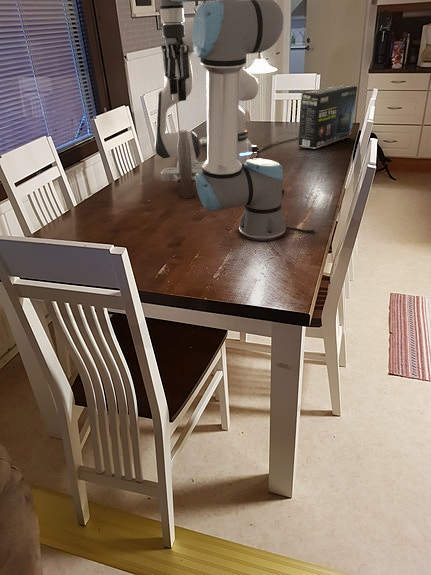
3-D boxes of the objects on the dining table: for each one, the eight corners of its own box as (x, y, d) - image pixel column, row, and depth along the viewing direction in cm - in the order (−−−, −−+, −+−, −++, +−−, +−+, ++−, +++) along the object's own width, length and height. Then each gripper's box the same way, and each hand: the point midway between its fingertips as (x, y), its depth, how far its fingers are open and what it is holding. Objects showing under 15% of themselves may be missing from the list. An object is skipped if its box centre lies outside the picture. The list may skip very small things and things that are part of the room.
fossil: (223, 141, 238) (204, 123, 241) (212, 159, 245) (194, 141, 248) (240, 140, 252) (222, 123, 255) (230, 156, 258) (212, 139, 262)
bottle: (194, 194, 183) (190, 129, 171) (191, 198, 179) (187, 132, 166) (182, 193, 184) (177, 129, 171) (179, 198, 180) (174, 132, 167)
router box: (314, 151, 231) (318, 94, 217) (296, 148, 237) (299, 92, 224) (352, 138, 251) (358, 85, 238) (335, 135, 258) (340, 83, 245)
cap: (181, 98, 165) (181, 92, 164) (186, 99, 162) (186, 94, 161) (170, 99, 163) (169, 94, 163) (175, 101, 160) (174, 95, 159)
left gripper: (161, 163, 188) (158, 173, 176) (211, 161, 188) (211, 171, 176) (162, 178, 191) (160, 189, 179) (211, 176, 191) (212, 187, 179)
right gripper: (197, 23, 146) (201, 101, 158) (168, 23, 158) (173, 96, 170) (178, 24, 143) (183, 104, 155) (149, 24, 155) (156, 98, 167)
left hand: (186, 180), depth 178 cm, fingers closed on bottle, 5 cm apart
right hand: (178, 99), depth 162 cm, fingers closed on cap, 4 cm apart
